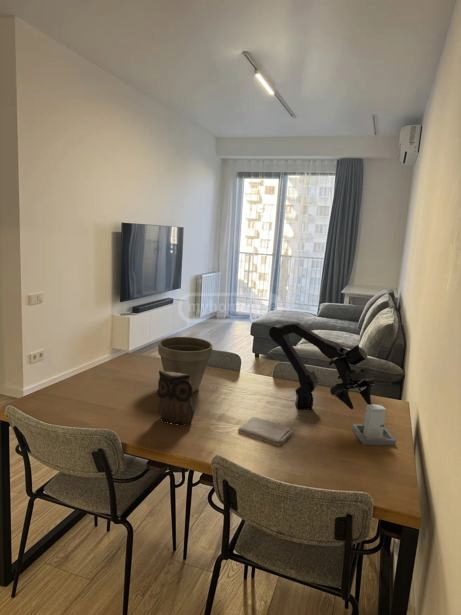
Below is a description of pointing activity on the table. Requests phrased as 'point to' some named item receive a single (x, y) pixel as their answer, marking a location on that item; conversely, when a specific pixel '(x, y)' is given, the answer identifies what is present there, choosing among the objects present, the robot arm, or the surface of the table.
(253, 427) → the washcloth
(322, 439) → the table surface
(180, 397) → the owl
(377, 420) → the skincare box
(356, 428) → the socket
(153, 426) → the table surface
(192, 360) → the plant pot
